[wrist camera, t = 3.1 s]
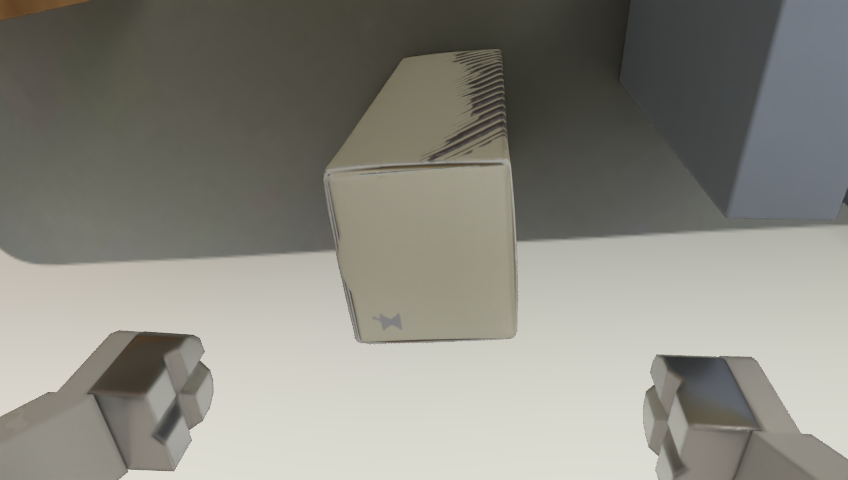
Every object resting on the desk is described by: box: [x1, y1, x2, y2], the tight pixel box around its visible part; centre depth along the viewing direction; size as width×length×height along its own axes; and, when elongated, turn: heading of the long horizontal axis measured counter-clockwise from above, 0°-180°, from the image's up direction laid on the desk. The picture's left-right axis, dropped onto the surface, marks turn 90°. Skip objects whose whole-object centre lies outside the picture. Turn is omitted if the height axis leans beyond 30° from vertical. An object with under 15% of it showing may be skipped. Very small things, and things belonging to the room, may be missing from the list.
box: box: [323, 49, 518, 344], centre depth 19 cm, size 5×4×13 cm
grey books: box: [619, 0, 848, 220], centre depth 16 cm, size 8×6×12 cm
